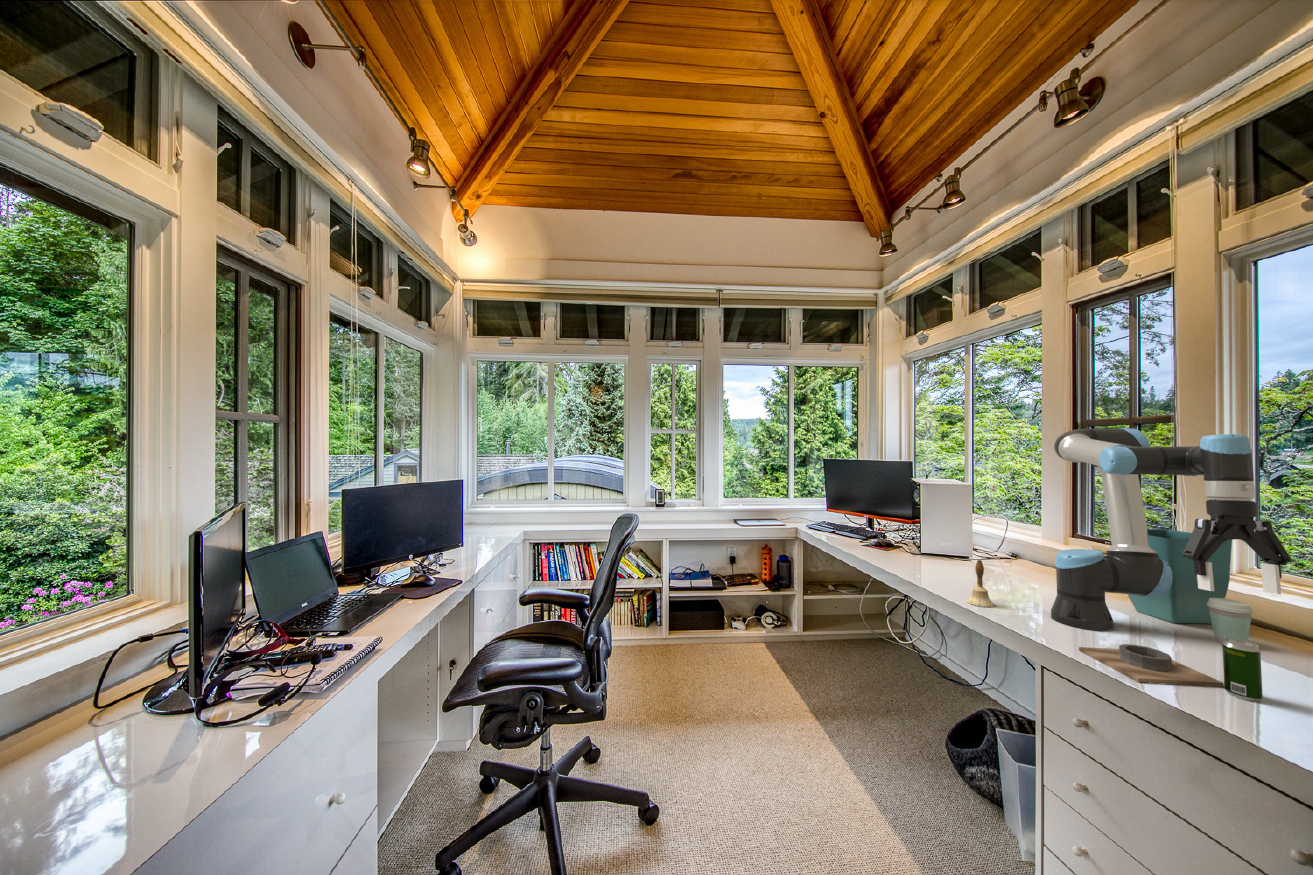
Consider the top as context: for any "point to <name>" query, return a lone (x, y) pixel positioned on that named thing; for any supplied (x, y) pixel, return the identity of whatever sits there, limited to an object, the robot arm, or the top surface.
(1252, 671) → the beer can
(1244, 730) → the top surface
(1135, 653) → the collar holder
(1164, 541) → the flower pot
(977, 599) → the hand bell
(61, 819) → the top surface
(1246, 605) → the coffee cup
